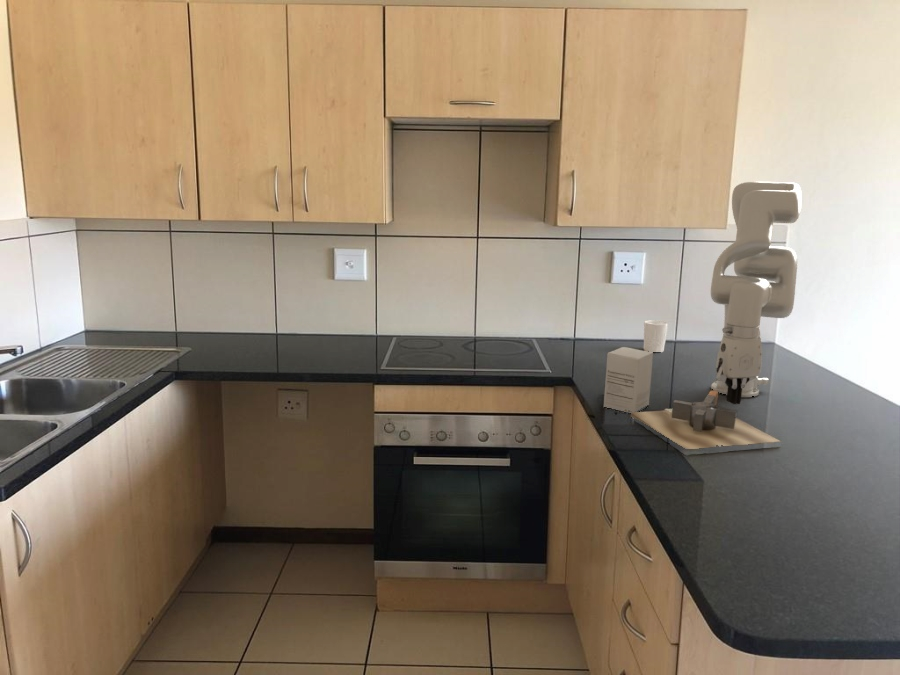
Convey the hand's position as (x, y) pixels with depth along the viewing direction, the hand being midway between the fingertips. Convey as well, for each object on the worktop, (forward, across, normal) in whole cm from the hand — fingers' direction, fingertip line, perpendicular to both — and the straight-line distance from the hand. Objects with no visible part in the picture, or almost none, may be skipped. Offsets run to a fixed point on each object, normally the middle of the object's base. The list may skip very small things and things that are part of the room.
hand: (733, 402), depth 174 cm
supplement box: (+4, -23, +12) cm, 26 cm away
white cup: (+4, +17, +66) cm, 68 cm away
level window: (+2, -14, +2) cm, 15 cm away
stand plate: (+4, -14, -8) cm, 17 cm away
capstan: (+2, -12, -6) cm, 13 cm away
